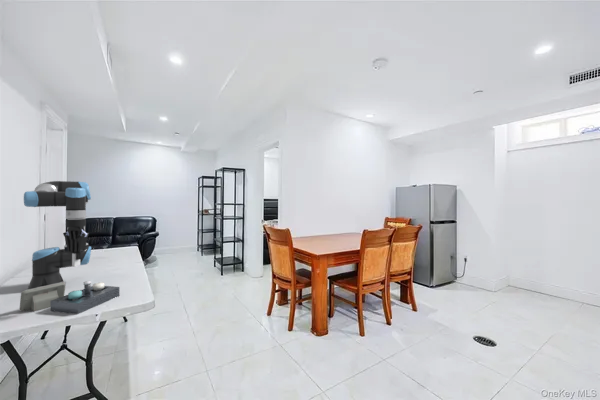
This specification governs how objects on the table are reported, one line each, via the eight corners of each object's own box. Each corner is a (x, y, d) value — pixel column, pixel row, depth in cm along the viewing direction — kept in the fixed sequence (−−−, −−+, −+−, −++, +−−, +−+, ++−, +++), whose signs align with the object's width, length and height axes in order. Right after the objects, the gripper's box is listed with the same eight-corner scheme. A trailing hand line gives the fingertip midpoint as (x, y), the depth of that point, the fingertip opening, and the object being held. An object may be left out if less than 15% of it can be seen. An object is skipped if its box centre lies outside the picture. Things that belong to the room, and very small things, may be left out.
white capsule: (82, 294, 129) (82, 282, 129) (87, 292, 132) (87, 280, 132) (86, 294, 128) (86, 283, 128) (92, 292, 131) (92, 281, 131)
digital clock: (64, 299, 135) (64, 279, 135) (66, 304, 129) (66, 283, 129) (19, 309, 123) (19, 287, 123) (19, 315, 117) (19, 292, 117)
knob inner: (90, 298, 134) (90, 285, 134) (99, 295, 139) (99, 282, 139) (98, 299, 133) (98, 285, 133) (106, 295, 138) (106, 282, 138)
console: (50, 311, 121) (50, 300, 121) (95, 293, 143) (95, 285, 142) (78, 314, 118) (77, 303, 118) (119, 295, 140) (119, 286, 140)
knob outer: (65, 308, 122) (65, 293, 122) (76, 304, 127) (76, 290, 127) (74, 309, 121) (73, 294, 121) (84, 305, 126) (84, 290, 126)
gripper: (56, 219, 122) (57, 267, 123) (78, 219, 120) (79, 268, 120) (73, 217, 130) (73, 263, 130) (94, 218, 127) (94, 264, 128)
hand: (76, 265), depth 125 cm, fingers closed
